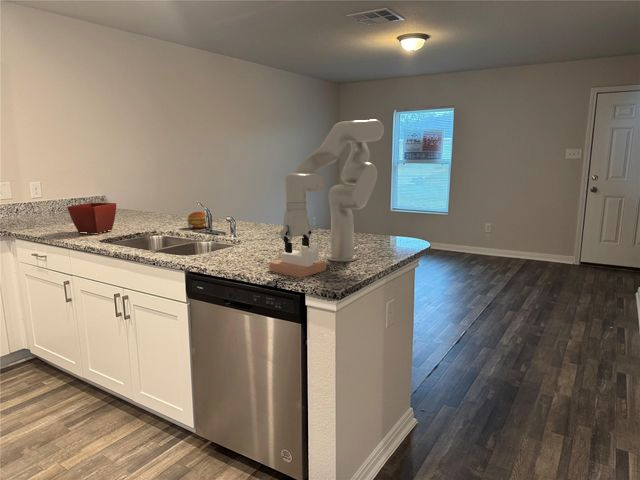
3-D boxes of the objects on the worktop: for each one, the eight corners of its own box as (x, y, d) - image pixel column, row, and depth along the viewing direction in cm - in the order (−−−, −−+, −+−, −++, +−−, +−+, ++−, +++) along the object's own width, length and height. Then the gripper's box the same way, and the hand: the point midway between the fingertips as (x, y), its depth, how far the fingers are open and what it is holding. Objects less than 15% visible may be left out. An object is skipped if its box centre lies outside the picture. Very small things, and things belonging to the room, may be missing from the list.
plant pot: (69, 234, 259) (66, 206, 256) (94, 229, 277) (91, 202, 273) (96, 236, 253) (92, 206, 250) (120, 230, 271) (117, 203, 268)
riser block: (294, 265, 184) (294, 255, 183) (325, 271, 173) (325, 261, 172) (269, 272, 174) (269, 262, 173) (301, 279, 163) (301, 269, 162)
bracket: (318, 262, 171) (318, 243, 169) (307, 266, 165) (306, 246, 164) (293, 258, 179) (292, 240, 177) (281, 262, 173) (280, 243, 172)
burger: (214, 227, 279) (213, 211, 277) (198, 230, 268) (197, 213, 266) (199, 225, 286) (198, 210, 284) (182, 228, 275) (181, 212, 273)
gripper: (304, 203, 177) (305, 245, 181) (272, 208, 164) (274, 253, 168) (318, 204, 173) (319, 247, 176) (287, 209, 160) (288, 255, 163)
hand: (297, 250), depth 172 cm, fingers open, 9 cm apart
